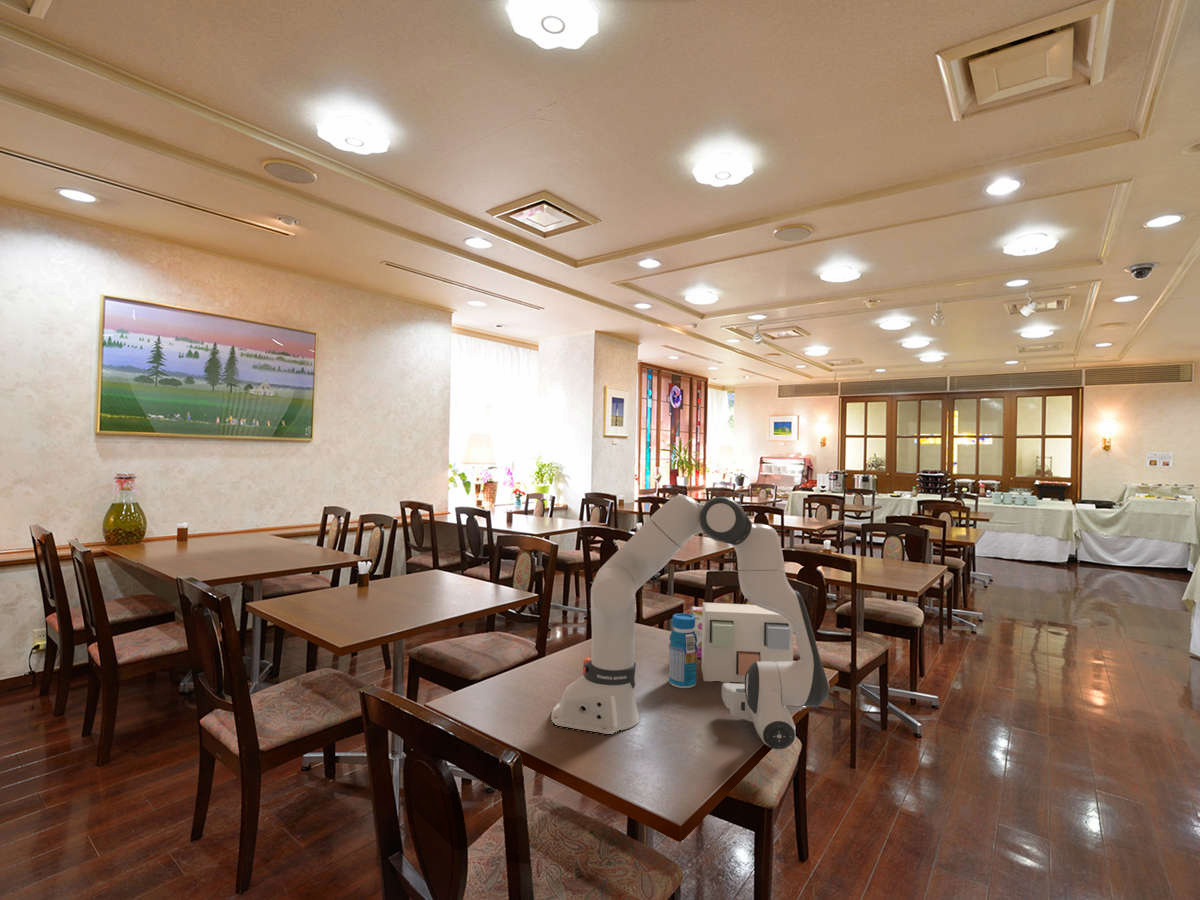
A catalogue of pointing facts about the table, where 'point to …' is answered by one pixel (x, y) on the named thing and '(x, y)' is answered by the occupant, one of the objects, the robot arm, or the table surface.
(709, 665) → the button panel
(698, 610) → the candy bar box
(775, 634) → the slate-blue button
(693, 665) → the beverage bottle
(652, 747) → the table surface
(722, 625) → the sage-green button
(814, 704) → the robot arm
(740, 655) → the terracotta button
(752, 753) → the table surface
